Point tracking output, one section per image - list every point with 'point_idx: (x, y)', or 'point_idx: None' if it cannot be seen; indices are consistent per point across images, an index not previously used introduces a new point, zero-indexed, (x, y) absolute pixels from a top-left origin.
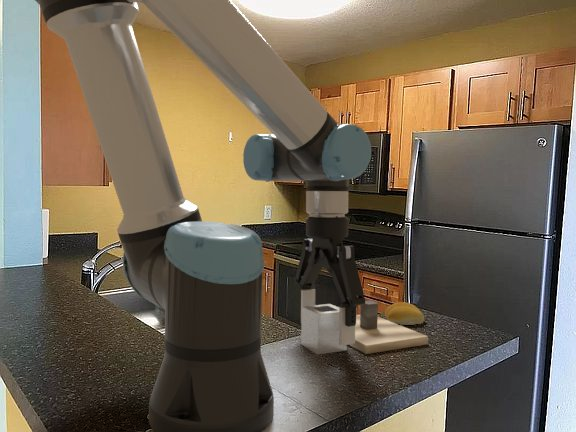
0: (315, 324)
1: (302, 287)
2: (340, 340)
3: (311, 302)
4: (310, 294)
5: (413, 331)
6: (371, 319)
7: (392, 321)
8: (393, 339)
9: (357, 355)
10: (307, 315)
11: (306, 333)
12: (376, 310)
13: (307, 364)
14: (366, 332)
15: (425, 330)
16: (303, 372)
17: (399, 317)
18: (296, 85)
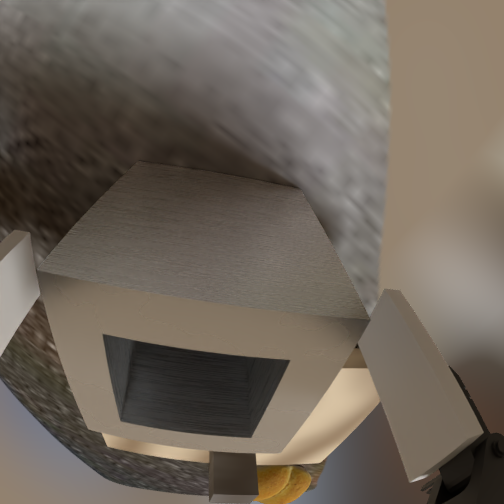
0: (115, 225)
1: (482, 451)
2: (9, 241)
3: (401, 408)
4: (421, 444)
5: (148, 453)
6: (211, 452)
7: (264, 465)
8: None
9: None
10: (252, 269)
11: (251, 204)
12: (209, 481)
13: (70, 57)
14: None
15: (192, 467)
16: (25, 12)
17: None
18: None
